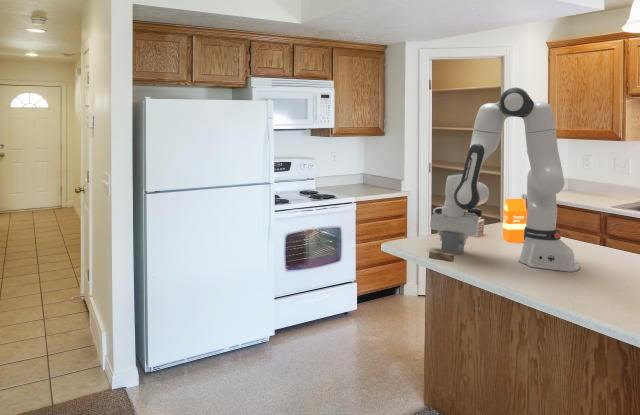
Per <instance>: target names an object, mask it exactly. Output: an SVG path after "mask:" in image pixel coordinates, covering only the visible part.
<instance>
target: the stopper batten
mask: <svg viewBox="0 0 640 415" xmlns="http://www.w3.org/2000/svg"><path fill="white" fill-rule="evenodd" d="M428 258H431V259H435V260H442V261H447V262H454V261H455V254H452V253H446V252H441V251H437V250H429V251H428Z"/></svg>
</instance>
